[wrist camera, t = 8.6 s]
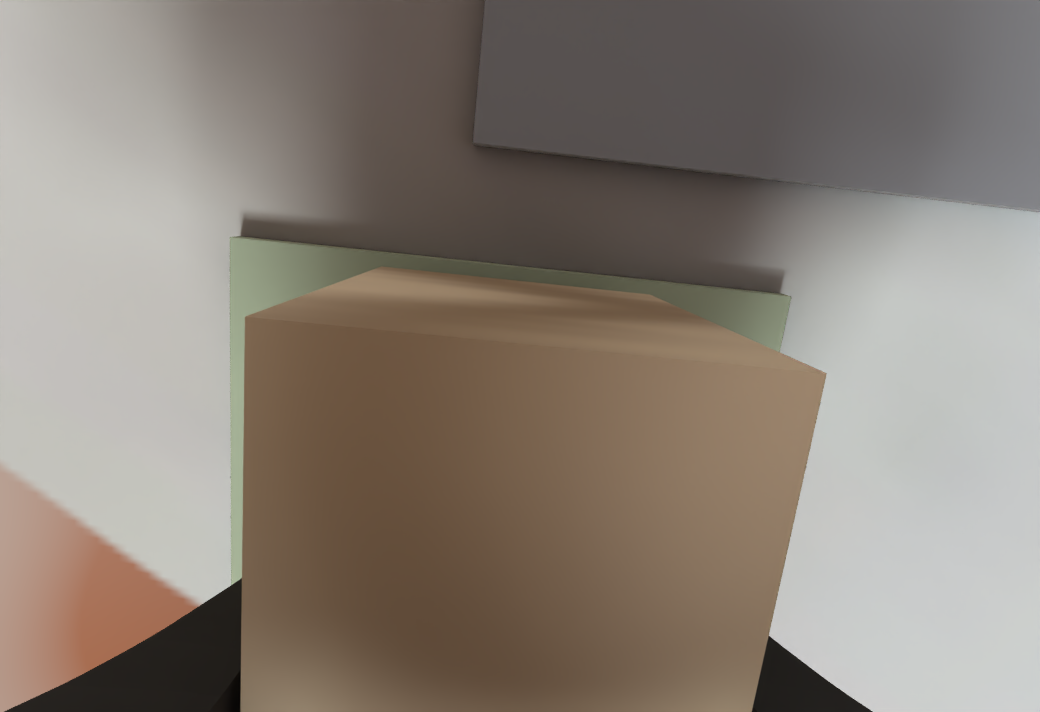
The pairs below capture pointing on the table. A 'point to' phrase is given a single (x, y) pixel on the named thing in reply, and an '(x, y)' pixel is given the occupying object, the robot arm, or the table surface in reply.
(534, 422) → the birch block
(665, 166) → the gray tile
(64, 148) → the table surface
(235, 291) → the green square tile
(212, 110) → the table surface
